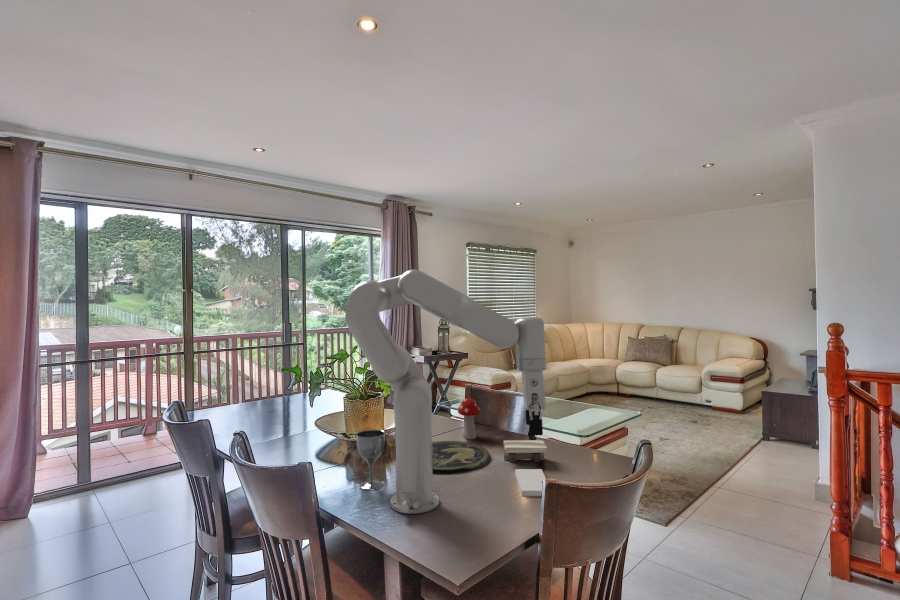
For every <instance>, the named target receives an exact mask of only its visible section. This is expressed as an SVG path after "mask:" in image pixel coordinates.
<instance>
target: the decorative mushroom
mask: <svg viewBox="0 0 900 600" xmlns="http://www.w3.org/2000/svg"><path fill="white" fill-rule="evenodd" d="M457 413H458V414H459V415H460V416H463V417H464V423H463V424H464V425H463V430H462V437H463V439H464V440H465V439H466V440H475V439H477V434H478V433H477V431H476V427H475V417H476V416H479V415H480V414H481V408H480V407H479V405H478V403H477V401H476V400H474V399H473V398H469V397H468V398H465V399H463V400H462V401H461V403H460V405H459V407H458V409H457Z"/></svg>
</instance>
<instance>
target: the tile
mask: <svg viewBox="0 0 900 600" xmlns="http://www.w3.org/2000/svg"><path fill="white" fill-rule="evenodd" d="M514 474H515V475H514V476H515V478H517V479H516V482H517V485H519V486H518V489H519V492H520V495H521V497H542V496H541V493H542V481H543V480H544V479H547V477H546V475H545V473H544V472H543V469H542V468H535V469H534V468H531V469H530V468H528V469H527V468H522V469H517V468H516V469H514Z"/></svg>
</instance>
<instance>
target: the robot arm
mask: <svg viewBox="0 0 900 600" xmlns="http://www.w3.org/2000/svg"><path fill="white" fill-rule="evenodd" d="M411 304H413V305H415V306H416V307H419V308H421V309H423V310H424V311H426V312H427V313H428V312H429V313H430V314H432V315H434V316H436V317H437V318H439V319H441V320H442V321H444V322H447V323H449V324H451V325H453V326H455V327H458V328H461V329H462V330H464V331H467V332H469V333H471V334H473V335H474V336H476V337H478V338H480V339H482V340H484V341H485V342H487V343H489V344H491V345H493V346H495V347H497V348H498V349H510V348H512V347H514V345H515V351H516V352H515V353H516V355H515V356H516V370H517V371H518V372H521V386H522V394H523V395H522V397H523V398H522V399H523V402H524V403H523V404H524V406H525V425H526V426H528V427H529V435H530V436H543V435H544V434H543V433H544V431H543V418H542V410H543V411H544V410H546V409H547V407H546V406H547V405H546V395H545V394H546V393H545V391H546V390H545V382H544V373H543V372H544V371H547V363H546V362H547V361H546V360H547V359H546V358H547V357H546V341H545V340H546V338H545V336H546V335H545V322H544V319H543V318H541V317H536V316H535V317H532V316H531V317H530V316H529V317H527V316H526V317H520V318H509V317H506V316H504V315H502V314H500V313H498V312H496V311H495V310H493V309H491V308H489V307H487V306H485V305H483V304H482V303H479V302H477V301H476V300H474V299H473V298H471V297H470V296H468V295H467V294H465V293H463V292H462V291H460V290H457V289H455V288H453V287H452V286H450V285H448V284H446V283H444V282H442V281H440V280H438V279H436V278H434V277H432V276H431V275H429V274H427V273H426V272H423V271H422V270H418V269H408V270H406V271H405V272H403V273H402V274H401V275H398V276H394V277H391V278H386V279H382V280H381V279H380V280H378V281H376V280H373V279H371V280H364V281H362V282H360V283H358V284H357V285H356V286H355V287H353V289H352V291H351V292H350V294H349V296H348V298H347V301H346V305H345V312H344V313H345V322H346V324H347V327H348V330H349V332H350V333H351V335H352V337H353V339H354V340H355V342H356V343H357V346H358V347H359V348H360V350H361V353H362V354H363V355H364V357H365V359H366V360H367V362H368V364H369V365H370V366H371V368H372V370H373V371H374V373H375V375H376V376H377V378H378V379H379V380H381V381H382V382H384V383H385V384H386V383H387V384H388V386H389V387H390V389H391V390H392V392H393V393H394V394H395V395H394V401H393V416H394V437H395V438H394V441H395V442H394V443H395V444H394V445H395V482H396V483H395V484H396V485H395V489H396V490H395V491H396V492H395V493H396V494H394V495H392V497H391V498H390V501H389V502H390V503H389V504H390V507H391V509H393V510H394V511H396V512H398V513H402V514H407V515H408V514H410V515H411V514H413V515H416V514H423V513H427V512H430V511H432V510H434V509H436V508H437V507H438V506H439V504H440V497H439V496H438V495H437V493H435V492H434V480H433V479H434V477H433V476H434V474H433V466H432V442H433V427H432V425H433V424H432V423H433V422H432V420H433V418H432V417H433V413H432V412H433V410H432V409H433V407H432V406H433V400H432V399H433V395H432V388H431V385H430V383H429V382H428V380H427V378H426V377H425V375H424V373H423V372H422V371H421V369H420V368H419V366H418V364H417V363H416V362H415V360H414V358H413V357H412V355H411V353H410V352H409V351H408V350H407V349H406V348H405V347H404V346H402V345H400V344H397V342H396V340H395V339H394V338H393V336H392V334H391V333H390V331H389V330H388V328H387V326H386V325H385V324H384V322H383V320H382V318H381V316H380V313H382V312H384V311H385V312H386V311H389V310H391V309H395V308H399V307H404V306H408V305H411ZM541 409H542V410H541Z"/></svg>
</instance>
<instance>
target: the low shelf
mask: <svg viewBox="0 0 900 600" xmlns="http://www.w3.org/2000/svg"><path fill="white" fill-rule="evenodd" d="M546 453H548V447H547V445H546V443H545V442H544V440H543V439H542V440H538V439H537V440H536V439H535V440H529V439H528V440H520V439H519V440H513V439H512V440H503V460H504V461H508V462H509V463H516V461H520V460H519V459H532V460H531V461H533V460H534V461H533V462H534V463H541V461H544V460H545V454H546Z"/></svg>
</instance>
